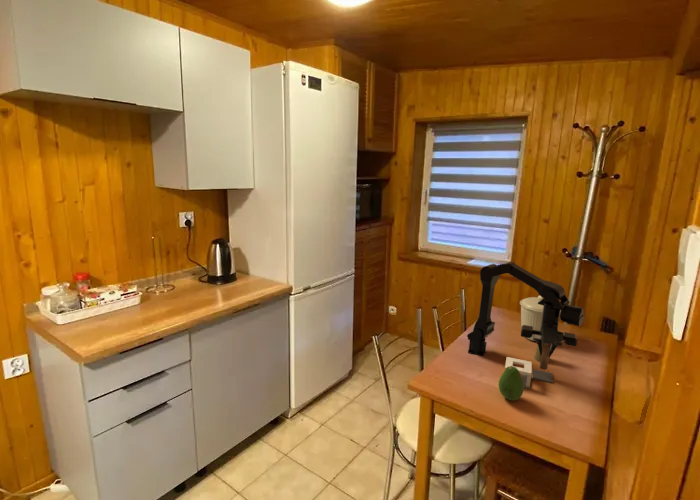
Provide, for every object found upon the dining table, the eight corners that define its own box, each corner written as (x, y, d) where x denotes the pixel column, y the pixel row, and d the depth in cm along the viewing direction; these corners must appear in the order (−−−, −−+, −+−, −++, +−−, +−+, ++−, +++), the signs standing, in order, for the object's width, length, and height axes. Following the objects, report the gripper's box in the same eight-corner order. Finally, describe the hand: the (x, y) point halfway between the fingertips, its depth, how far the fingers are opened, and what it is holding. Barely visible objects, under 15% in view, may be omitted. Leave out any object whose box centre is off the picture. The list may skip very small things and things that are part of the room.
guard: (503, 383, 147) (504, 367, 145) (504, 371, 154) (506, 356, 153) (529, 389, 143) (531, 373, 141) (529, 377, 151) (531, 361, 149)
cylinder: (539, 368, 149) (543, 342, 147) (539, 365, 152) (543, 339, 149) (547, 370, 148) (551, 344, 146) (547, 366, 151) (550, 341, 148)
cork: (551, 363, 161) (555, 339, 158) (536, 362, 162) (539, 337, 160) (547, 356, 167) (550, 333, 164) (532, 355, 168) (535, 331, 165)
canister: (521, 326, 197) (525, 286, 192) (560, 335, 187) (567, 294, 182) (511, 339, 183) (516, 296, 178) (554, 350, 172) (560, 305, 168)
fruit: (509, 407, 132) (513, 376, 129) (492, 395, 139) (495, 364, 136) (526, 402, 135) (530, 371, 132) (509, 390, 142) (512, 360, 139)
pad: (532, 379, 149) (532, 377, 149) (532, 370, 156) (532, 369, 156) (552, 383, 147) (553, 382, 146) (552, 374, 153) (552, 373, 153)
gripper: (522, 321, 142) (517, 359, 146) (581, 331, 135) (574, 371, 138) (523, 310, 152) (519, 347, 156) (578, 319, 144) (572, 357, 148)
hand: (545, 355), depth 149 cm, fingers closed on cylinder, 3 cm apart
